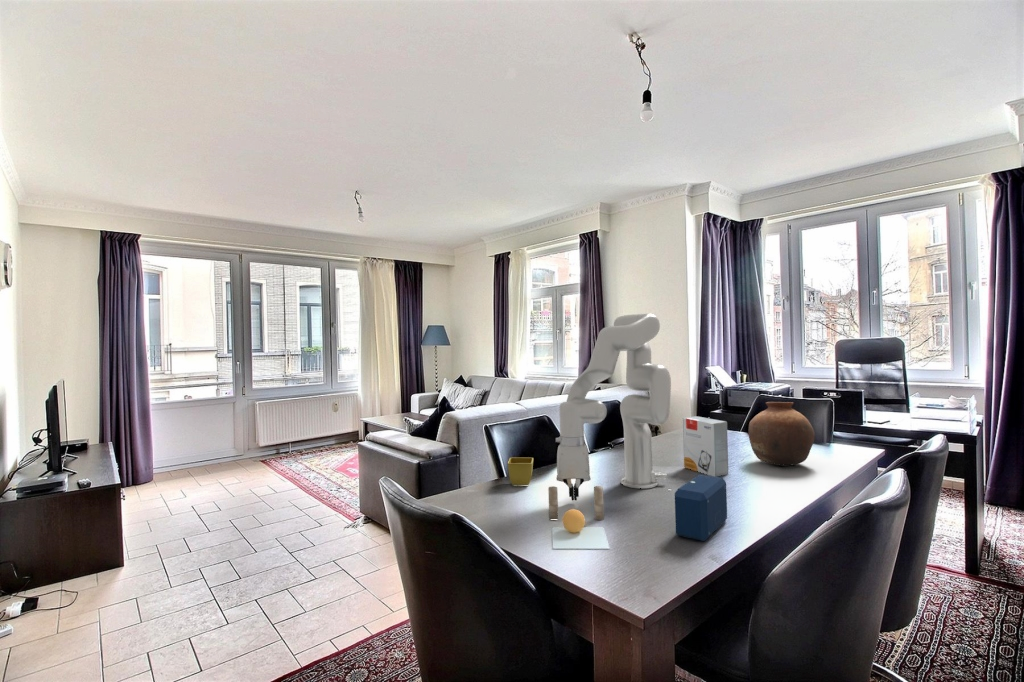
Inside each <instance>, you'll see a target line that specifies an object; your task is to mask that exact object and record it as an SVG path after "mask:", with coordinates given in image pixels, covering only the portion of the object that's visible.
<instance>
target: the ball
mask: <svg viewBox="0 0 1024 682" xmlns="http://www.w3.org/2000/svg"><path fill="white" fill-rule="evenodd" d="M585 524H586V520H585V516H584V514H583V513H582V512H581V511H580V510H578V509H575V508H572V509H569V510H567V511H566V512H565V513H564V514H563V515H562V525H563V527H565V529H566V530H567V531H569V532H571V533H577V532H579V531H581V530H582V529H583V527H585Z"/></svg>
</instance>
